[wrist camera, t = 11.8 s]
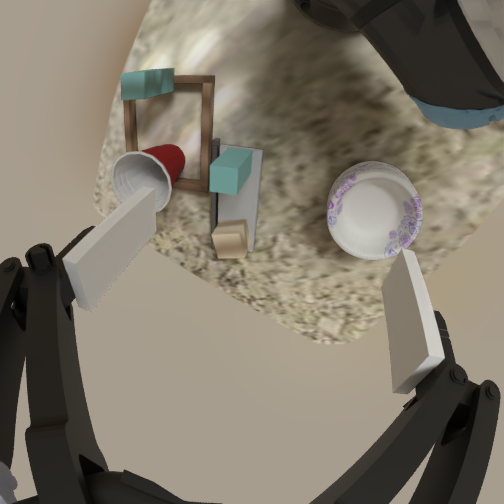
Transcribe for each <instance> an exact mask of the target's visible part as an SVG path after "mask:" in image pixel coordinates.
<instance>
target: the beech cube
mask: <svg viewBox="0 0 504 504" xmlns="http://www.w3.org/2000/svg"><path fill="white" fill-rule="evenodd" d="M212 239H213V242H214V245H215V249H216V252H217V256H218V259H221V258H245V256H246V254H247V251H248V249H249V246H250V244H251V239H250V235H249V230H248V226H247V221H246V219H239V220H223V221H220V222H219V223H218V225H217V227H216V228H215V230H214V232H213V233H212Z"/></svg>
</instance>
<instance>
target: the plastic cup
mask: <svg viewBox="0 0 504 504" xmlns="http://www.w3.org/2000/svg"><path fill="white" fill-rule="evenodd" d="M184 164H185V156H184V154H183V152H182V150H181V149H180V148H179V147H177V146H175V145H172V144H167V145H162V146H156V147H153V148H149V149H146V150H142V151H134V152H127V153H125V154H123V155H122V156H120V157H118V158H117V160H116V161H115V163H114V165H113V166H112V170H111V177H110V179H111V184H112V188H113V191H114V193H115V194H116V196H117V197H118V199H119V201H120V202H122V203H123V202H124V201H125V200H127V199H128V198H129V197H130V196H131V195H133V194H134V193H135V192H136V191H137V190H139V189H140V188H141V187H142V186H145V187H150V188H155V210H156V212H158V211H161V210H162V209H163V208H164V207H165V206H166V205H167V203H168V202H169V199H170V195H171V191H172V186H173V185H174V183H175V181H176V180H177V178H178V176H179V174H180V172H181V171H182V169H183V167H184Z"/></svg>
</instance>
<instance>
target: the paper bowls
mask: <svg viewBox="0 0 504 504" xmlns="http://www.w3.org/2000/svg"><path fill="white" fill-rule="evenodd" d="M422 218H423V209H422V203H421V200H420V197H419V195H418V193H417V191H416V189H415V188H414V186H413V185H412V183H411V182H410V180H409V179H408V178H407V177H406V175H405V174H404V173H403V172H401V171H400V170H399V169H397V168H396V167H394V166H392V165H389V164H387V163H384V162H377V161H367V162H361V163H359V164H356V165H354V166H352V167H350V168H348V169H347V170H345V171H344V172H343V173H341V174H340V176H339V177H338V178H337V179H336V180H335V182H334V183H333V185H332V187H331V189H330V192H329V196H328V201H327V225H328V229H329V232H330V234H331V236H332V237H333V239H334V241H335V242H336V243H337V244H338V245H339V246H340V247H341V248H342V249H343V250H344V251H346V252H347V253H349V254H351V255H353V256H355V257H358V258H362V259H367V260H380V259H385V258H389V257H392V256H394V255H397V254H398V253H399V252H400V250H401V248H404V249H406V248H407V247H408V246H409V245H410V244H411V243H412V242H413V240H414V239H415V238H416V236H417V234H418V232H419V230H420V227H421V223H422Z"/></svg>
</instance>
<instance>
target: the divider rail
mask: <svg viewBox="0 0 504 504" xmlns="http://www.w3.org/2000/svg"><path fill="white" fill-rule="evenodd" d="M219 156H220V138H215V139H213V147H212V163H213V162H214V161H215V160H216V159H217V158H218V157H219ZM217 225H218V192H212V201H211V248H212V249H215V245H214V242H213V239H212V233H213V232H214V230H215V228H216V227H217Z"/></svg>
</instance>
